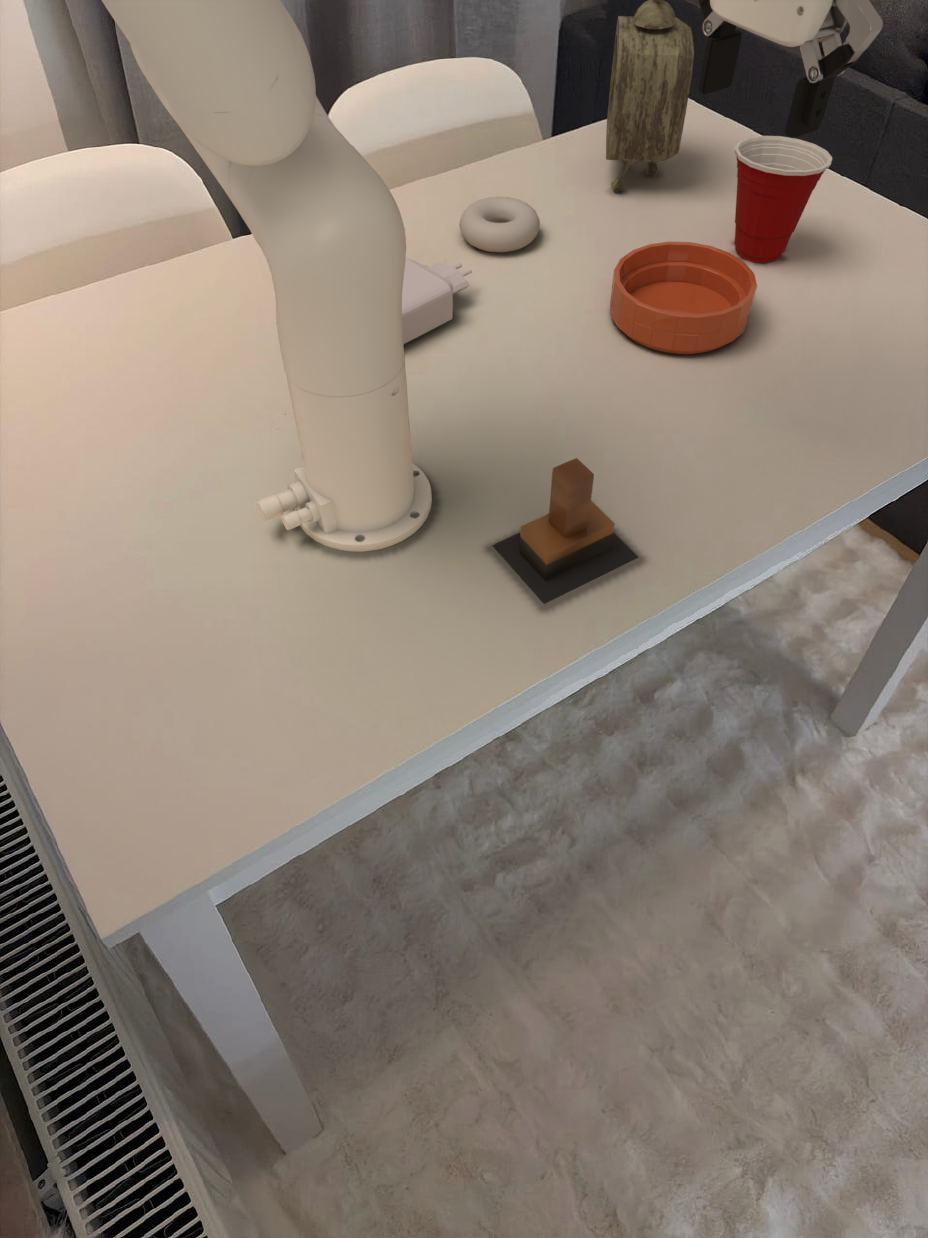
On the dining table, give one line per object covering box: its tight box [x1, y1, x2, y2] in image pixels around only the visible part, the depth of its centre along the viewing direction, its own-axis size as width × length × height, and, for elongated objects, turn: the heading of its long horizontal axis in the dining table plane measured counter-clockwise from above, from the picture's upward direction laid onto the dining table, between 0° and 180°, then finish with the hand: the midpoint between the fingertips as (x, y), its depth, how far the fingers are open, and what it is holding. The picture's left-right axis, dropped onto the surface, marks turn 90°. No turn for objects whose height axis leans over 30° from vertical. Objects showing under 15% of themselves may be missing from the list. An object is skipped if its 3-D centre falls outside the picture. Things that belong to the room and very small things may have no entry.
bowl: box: [609, 241, 758, 355], centre depth 101 cm, size 15×15×5 cm
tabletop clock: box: [605, 0, 695, 193], centre depth 116 cm, size 14×9×25 cm, turn 174°
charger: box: [402, 257, 473, 345], centre depth 103 cm, size 5×9×15 cm
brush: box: [519, 457, 616, 581], centre depth 76 cm, size 7×4×9 cm, turn 122°
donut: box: [459, 196, 541, 253], centre depth 114 cm, size 10×4×10 cm
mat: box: [491, 532, 639, 605], centre depth 80 cm, size 10×8×1 cm
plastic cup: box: [733, 135, 833, 264], centre depth 108 cm, size 11×11×12 cm
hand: (756, 110), depth 72 cm, fingers open, 9 cm apart
